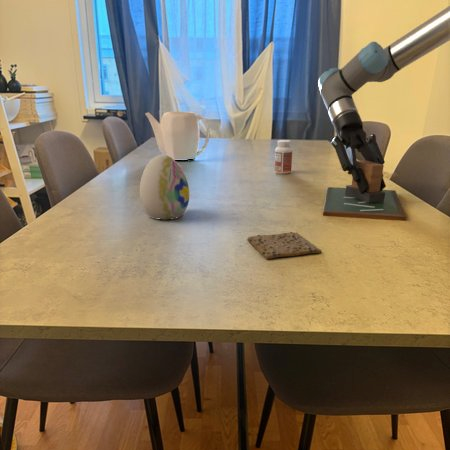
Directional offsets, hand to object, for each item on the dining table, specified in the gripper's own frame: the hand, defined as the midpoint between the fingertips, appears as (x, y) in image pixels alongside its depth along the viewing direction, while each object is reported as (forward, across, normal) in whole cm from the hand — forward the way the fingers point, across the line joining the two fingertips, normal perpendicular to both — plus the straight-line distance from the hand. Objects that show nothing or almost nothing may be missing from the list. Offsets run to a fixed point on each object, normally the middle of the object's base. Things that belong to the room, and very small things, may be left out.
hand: (373, 189), depth 117 cm
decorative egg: (-4, +55, -10) cm, 56 cm away
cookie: (+18, +38, +12) cm, 43 cm away
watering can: (-62, +30, -68) cm, 96 cm away
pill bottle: (-32, +2, -38) cm, 49 cm away
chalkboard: (+2, +2, -4) cm, 5 cm away
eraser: (0, 0, -5) cm, 5 cm away
